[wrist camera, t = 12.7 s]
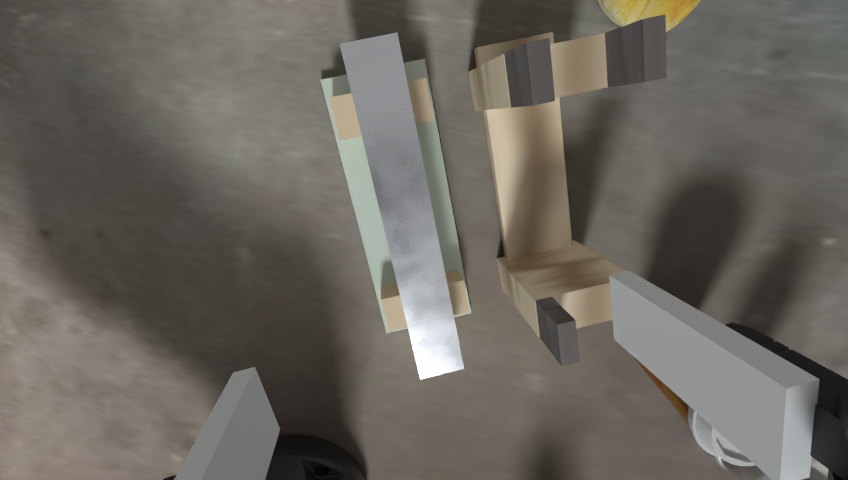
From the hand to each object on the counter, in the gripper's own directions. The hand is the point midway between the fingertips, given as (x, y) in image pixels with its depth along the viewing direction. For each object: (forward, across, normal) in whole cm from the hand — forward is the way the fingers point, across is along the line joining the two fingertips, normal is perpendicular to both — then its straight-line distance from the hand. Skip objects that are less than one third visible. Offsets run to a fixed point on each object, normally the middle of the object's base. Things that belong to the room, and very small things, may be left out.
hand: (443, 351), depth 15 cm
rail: (+18, 0, +1) cm, 18 cm away
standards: (+21, +11, +1) cm, 24 cm away
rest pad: (+21, 0, +1) cm, 21 cm away
